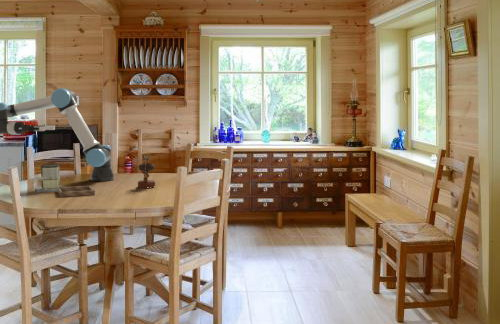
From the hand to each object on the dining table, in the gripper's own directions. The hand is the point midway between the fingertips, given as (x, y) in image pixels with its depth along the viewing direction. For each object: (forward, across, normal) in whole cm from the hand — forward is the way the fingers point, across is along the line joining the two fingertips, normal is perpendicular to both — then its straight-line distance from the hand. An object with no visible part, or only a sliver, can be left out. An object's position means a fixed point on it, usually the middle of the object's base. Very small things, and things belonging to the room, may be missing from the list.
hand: (49, 128), depth 318 cm
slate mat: (+9, +22, -35) cm, 42 cm away
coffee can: (+9, +22, -35) cm, 42 cm away
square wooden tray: (+28, +32, -35) cm, 55 cm away
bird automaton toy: (+62, +5, -35) cm, 71 cm away
